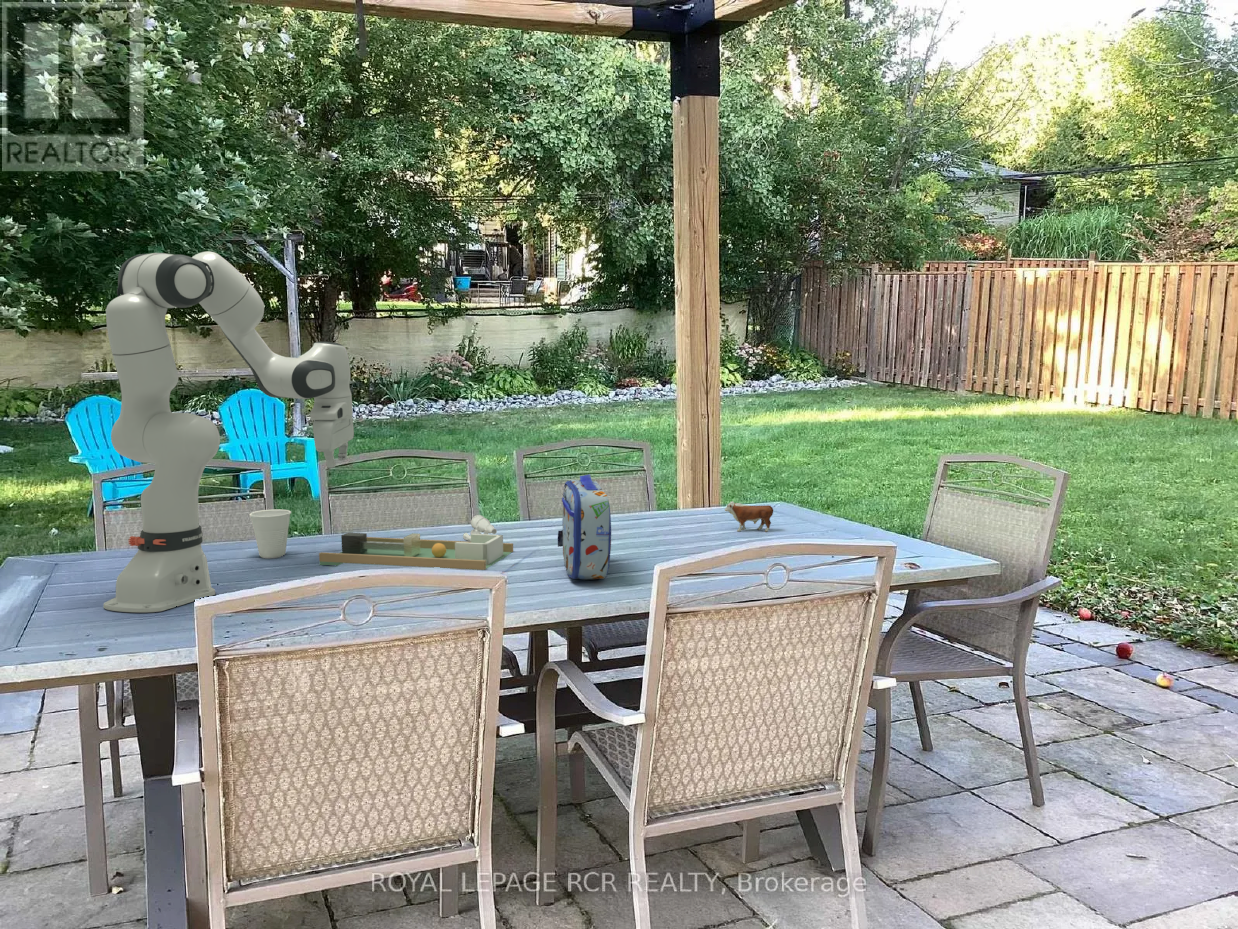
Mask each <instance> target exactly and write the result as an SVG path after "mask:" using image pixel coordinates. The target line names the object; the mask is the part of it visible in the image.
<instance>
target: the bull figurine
mask: <svg viewBox="0 0 1238 929" xmlns="http://www.w3.org/2000/svg"><path fill="white" fill-rule="evenodd" d="M724 511H725V512H728V513H729V514H731V515H732V517H733V518H734V520H736V522H738V523H739V527H738V529H737V530H736V532H737V533H738V532H739V533H740V532H741V531H744V530H746V522H752V523H753V524H754V525H755V524H757V522H758V521H760V520H761V522H760V525H759V526H758V527H757V528H756V530H757V531H760V530H762V529H763V527H764V525H765V526H766V528H765V529H764V532H765V533H769V531H770V527H771V524H772V522H771V520H770V519H771V517H772V516H773V515H774V508H773V507H772V506H771V505H769V504H768V505H748V504H743V503H741V502H738V503H737V502H734V501H730V502H729V503H728V504H727V506H725V508H724Z"/></svg>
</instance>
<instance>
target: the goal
mask: <svg viewBox="0 0 1238 929" xmlns="http://www.w3.org/2000/svg"><path fill="white" fill-rule="evenodd" d="M470 536H471V541H470V542H471V543H467V542H456V543H455V559H467V560H486V565H489V564H490V563H492V562H493V561H495V560H496V559H498V558H500V557H501V556H503V543H504V535H502V534H484V533H481V534H471V535H470Z"/></svg>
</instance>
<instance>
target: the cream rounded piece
mask: <svg viewBox="0 0 1238 929" xmlns="http://www.w3.org/2000/svg"><path fill="white" fill-rule="evenodd" d="M470 521H471V522H470V525H471V527H472V530H471V531H470V534H469V533H467V532H464V533H463V535H462V537H463V540H464V541H468V542H471V534H489V535H497V532H498V530H497V529H496V528H495V526H494V525H493V524H491V522H490V520H489V519H488V518H486V517H484V515H480V514H476V515H474V516H473V517H472V519H471V520H470Z"/></svg>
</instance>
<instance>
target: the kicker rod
mask: <svg viewBox="0 0 1238 929" xmlns="http://www.w3.org/2000/svg"><path fill="white" fill-rule="evenodd" d="M367 537H368V535H367V533H365V532H361V533H360V532H346V533H344V534H342V535H341V538H340V539H341V552H342V553H347V554H362V553H364V552H367V549H377V550H398V551H404V556H406V557H413V556H415V555H417V554H419V553H421V549H420V539H421V533H415V532H414V533H413V532H412V533H410V534H409V535H408V534H407V535H406V536H404V537H403V539H404V543H395V542H373V541H367Z"/></svg>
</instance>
